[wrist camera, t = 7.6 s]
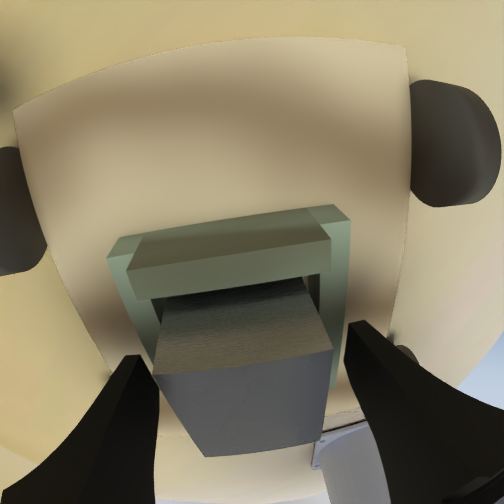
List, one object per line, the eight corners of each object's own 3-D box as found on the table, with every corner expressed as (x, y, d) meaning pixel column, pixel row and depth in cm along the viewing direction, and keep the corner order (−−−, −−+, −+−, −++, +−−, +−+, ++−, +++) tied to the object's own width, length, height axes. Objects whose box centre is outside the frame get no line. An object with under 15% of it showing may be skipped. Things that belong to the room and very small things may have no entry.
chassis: (380, 385, 18) (403, 434, 14) (141, 422, 17) (135, 475, 13) (419, 56, 8) (497, 51, 4) (4, 121, 8) (-70, 142, 4)
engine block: (292, 344, 13) (320, 440, 8) (204, 357, 13) (204, 457, 8) (287, 245, 10) (333, 348, 6) (174, 262, 10) (151, 374, 6)
